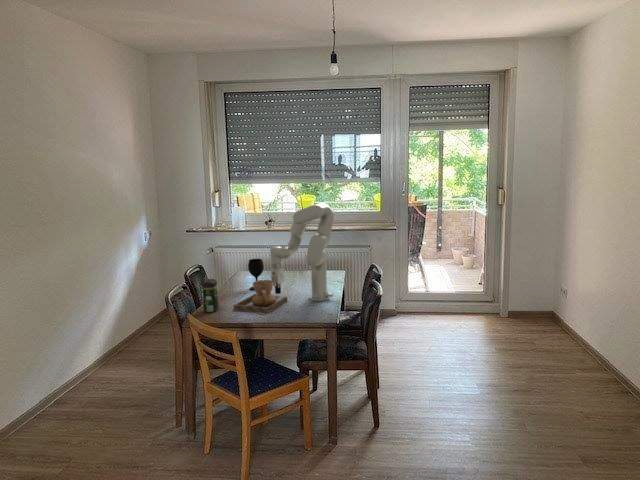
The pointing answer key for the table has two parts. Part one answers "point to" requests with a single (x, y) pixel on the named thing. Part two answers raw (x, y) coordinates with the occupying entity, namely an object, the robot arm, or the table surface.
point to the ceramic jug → (263, 293)
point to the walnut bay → (243, 307)
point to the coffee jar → (210, 295)
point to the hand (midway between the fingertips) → (278, 293)
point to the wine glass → (255, 268)
